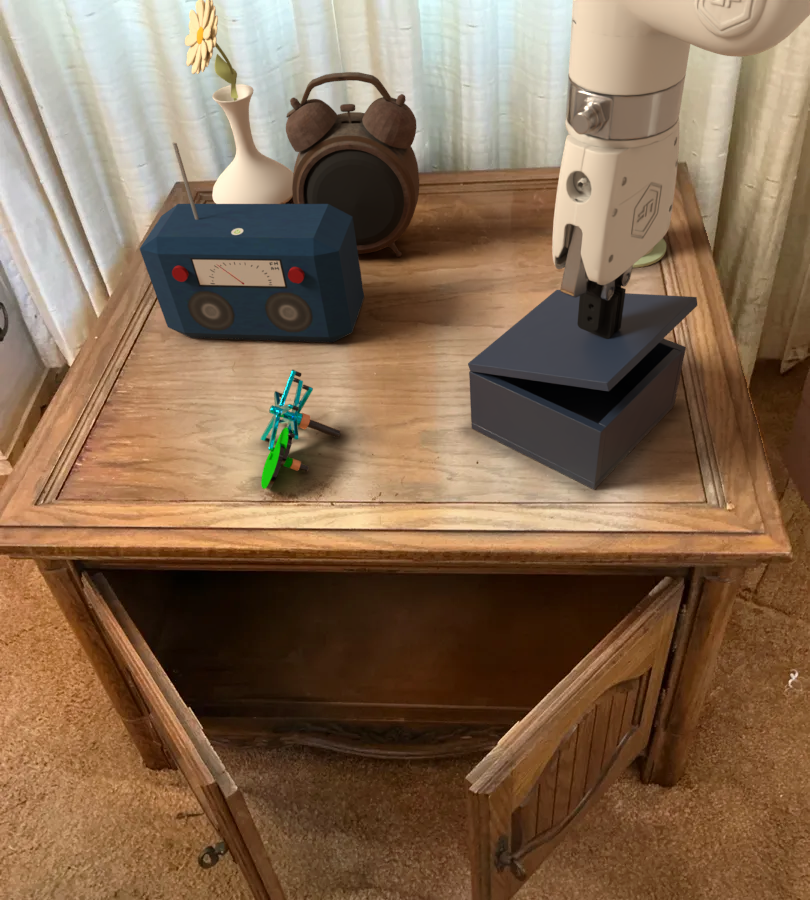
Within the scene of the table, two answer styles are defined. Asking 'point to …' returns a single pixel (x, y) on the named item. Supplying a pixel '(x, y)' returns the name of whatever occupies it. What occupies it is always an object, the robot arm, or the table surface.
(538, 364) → the lid
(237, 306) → the radio
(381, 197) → the alarm clock
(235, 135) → the flower in vase
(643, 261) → the mat
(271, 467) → the stick construction toy
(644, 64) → the robot arm
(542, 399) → the chest
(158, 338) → the table surface
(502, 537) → the table surface
